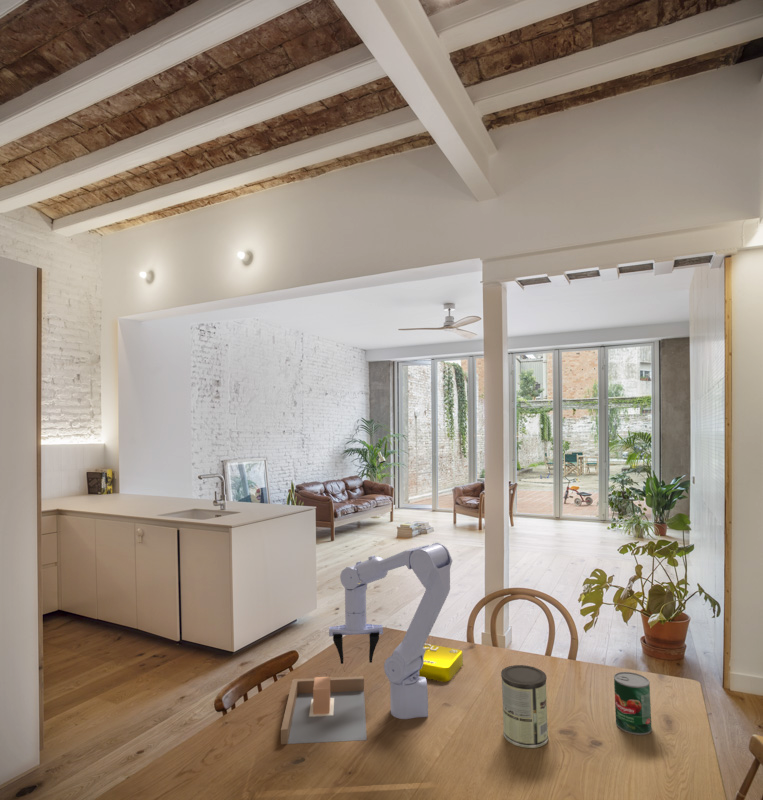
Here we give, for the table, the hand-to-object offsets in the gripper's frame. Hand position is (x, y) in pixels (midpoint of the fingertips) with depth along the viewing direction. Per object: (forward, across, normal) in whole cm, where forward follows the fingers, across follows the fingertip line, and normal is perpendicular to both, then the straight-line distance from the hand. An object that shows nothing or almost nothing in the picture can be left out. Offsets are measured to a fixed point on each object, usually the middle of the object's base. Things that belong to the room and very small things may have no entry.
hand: (356, 661), depth 148 cm
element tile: (+10, -23, -16) cm, 30 cm away
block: (+8, +9, +6) cm, 14 cm away
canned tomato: (+10, -66, +20) cm, 70 cm away
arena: (+9, +8, +9) cm, 15 cm away
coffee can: (+10, -39, +22) cm, 46 cm away
